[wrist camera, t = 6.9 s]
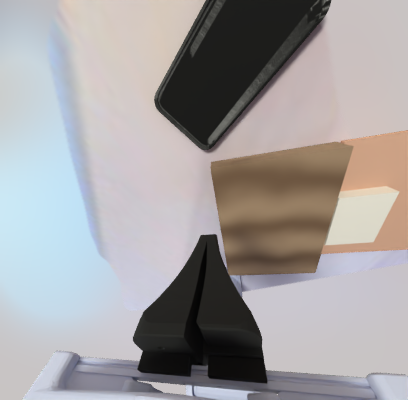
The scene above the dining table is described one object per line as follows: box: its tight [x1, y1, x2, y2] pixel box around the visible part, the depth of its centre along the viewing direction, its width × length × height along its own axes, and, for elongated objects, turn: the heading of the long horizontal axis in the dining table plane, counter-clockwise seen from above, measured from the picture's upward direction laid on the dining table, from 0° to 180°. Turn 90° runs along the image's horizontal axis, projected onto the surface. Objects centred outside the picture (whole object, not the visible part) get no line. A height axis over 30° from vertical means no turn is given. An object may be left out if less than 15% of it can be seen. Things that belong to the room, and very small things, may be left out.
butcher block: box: [211, 142, 354, 276], centre depth 21 cm, size 20×14×2 cm
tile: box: [324, 186, 399, 245], centre depth 20 cm, size 8×6×2 cm
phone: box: [154, 0, 331, 150], centre depth 14 cm, size 8×1×15 cm
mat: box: [321, 130, 408, 254], centre depth 19 cm, size 18×16×1 cm
